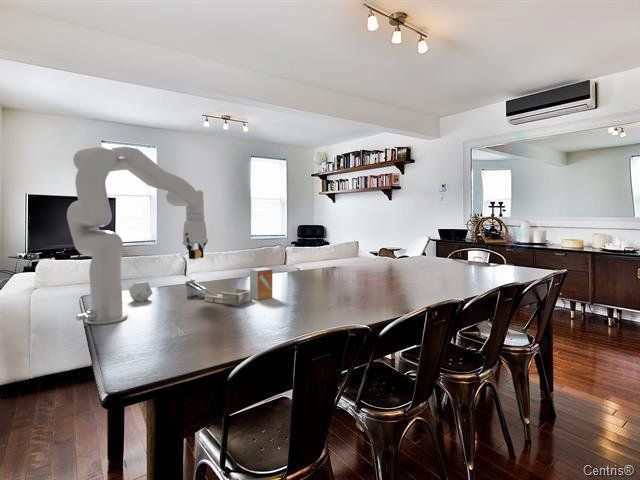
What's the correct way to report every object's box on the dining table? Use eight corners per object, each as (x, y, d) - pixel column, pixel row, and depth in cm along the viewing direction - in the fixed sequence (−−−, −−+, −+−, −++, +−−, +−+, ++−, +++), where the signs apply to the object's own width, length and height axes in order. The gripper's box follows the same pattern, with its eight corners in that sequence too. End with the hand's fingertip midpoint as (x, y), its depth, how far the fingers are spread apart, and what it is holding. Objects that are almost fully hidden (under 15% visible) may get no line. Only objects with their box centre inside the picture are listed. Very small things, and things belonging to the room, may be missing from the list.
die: (129, 305, 148) (144, 286, 148) (120, 292, 153) (134, 274, 153) (146, 308, 156) (160, 290, 156) (137, 296, 160) (150, 278, 160)
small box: (257, 300, 156) (257, 270, 155) (249, 298, 160) (249, 269, 159) (272, 297, 161) (272, 268, 160) (264, 295, 166) (264, 267, 165)
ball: (189, 259, 160) (188, 249, 160) (196, 257, 164) (196, 248, 164) (196, 259, 158) (196, 249, 158) (203, 258, 162) (203, 248, 162)
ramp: (211, 299, 156) (210, 284, 156) (185, 296, 163) (185, 281, 162) (218, 297, 160) (218, 282, 160) (193, 294, 167) (193, 279, 167)
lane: (237, 305, 147) (237, 294, 146) (204, 300, 155) (204, 290, 154) (251, 300, 155) (251, 290, 155) (219, 296, 163) (219, 286, 163)
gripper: (202, 217, 169) (203, 255, 171) (173, 218, 154) (175, 260, 156) (214, 217, 166) (215, 256, 167) (186, 218, 151) (187, 261, 152)
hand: (196, 257), depth 161 cm, fingers closed on ball, 4 cm apart
